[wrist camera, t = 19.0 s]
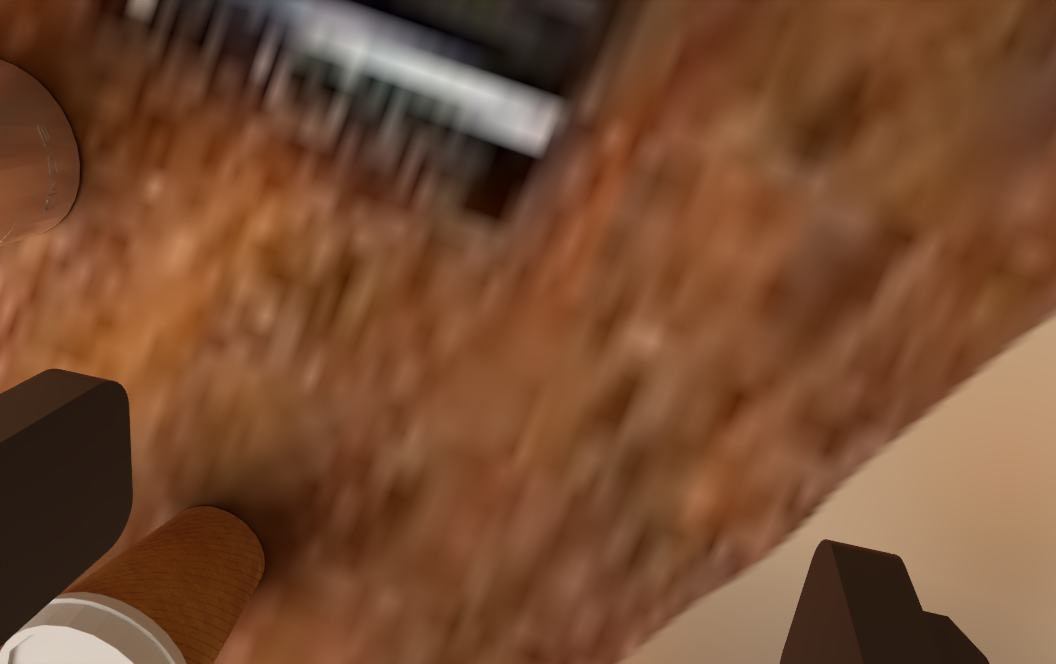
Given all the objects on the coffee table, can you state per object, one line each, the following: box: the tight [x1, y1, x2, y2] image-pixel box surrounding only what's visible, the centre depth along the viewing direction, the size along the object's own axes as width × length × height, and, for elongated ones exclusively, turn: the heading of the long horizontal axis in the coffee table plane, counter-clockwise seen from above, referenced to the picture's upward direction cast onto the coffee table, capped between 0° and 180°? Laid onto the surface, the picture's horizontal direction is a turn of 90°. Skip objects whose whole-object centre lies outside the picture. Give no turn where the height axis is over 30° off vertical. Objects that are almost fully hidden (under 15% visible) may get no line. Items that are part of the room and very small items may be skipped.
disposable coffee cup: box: [0, 506, 265, 664], centre depth 44 cm, size 10×10×12 cm
